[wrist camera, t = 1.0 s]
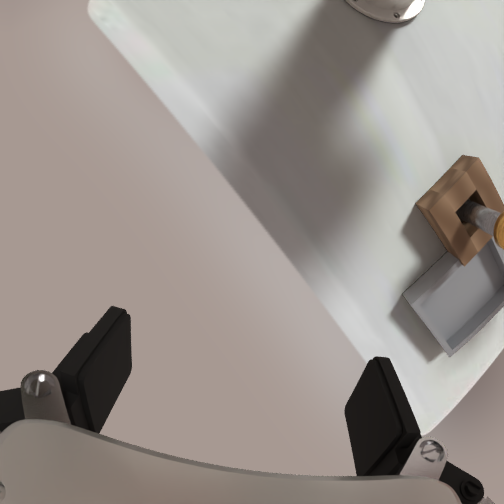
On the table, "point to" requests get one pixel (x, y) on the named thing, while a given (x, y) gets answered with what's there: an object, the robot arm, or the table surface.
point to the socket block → (452, 198)
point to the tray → (459, 295)
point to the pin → (483, 220)
